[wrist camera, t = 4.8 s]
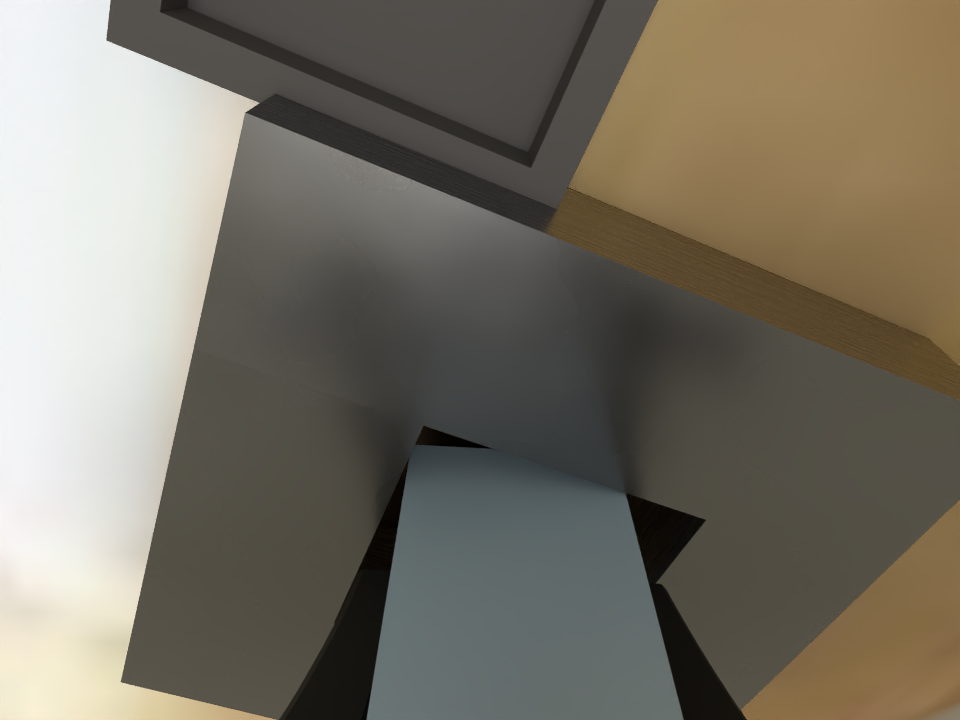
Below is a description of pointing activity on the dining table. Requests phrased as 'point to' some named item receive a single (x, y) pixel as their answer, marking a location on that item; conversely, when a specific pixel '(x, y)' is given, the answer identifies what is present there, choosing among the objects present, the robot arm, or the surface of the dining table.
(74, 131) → the dining table surface
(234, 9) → the square shadow box
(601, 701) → the plug
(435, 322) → the port block
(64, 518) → the dining table surface
